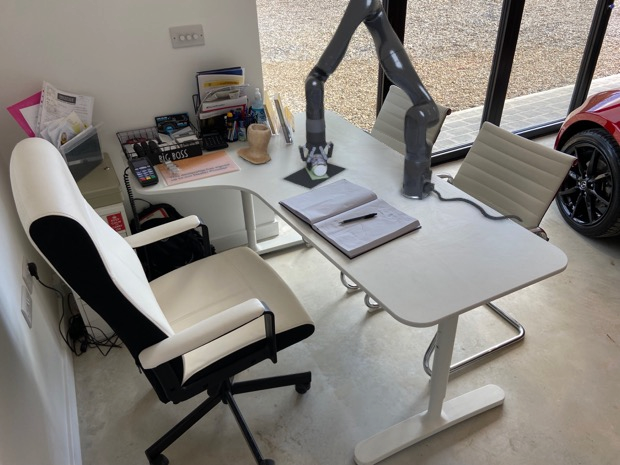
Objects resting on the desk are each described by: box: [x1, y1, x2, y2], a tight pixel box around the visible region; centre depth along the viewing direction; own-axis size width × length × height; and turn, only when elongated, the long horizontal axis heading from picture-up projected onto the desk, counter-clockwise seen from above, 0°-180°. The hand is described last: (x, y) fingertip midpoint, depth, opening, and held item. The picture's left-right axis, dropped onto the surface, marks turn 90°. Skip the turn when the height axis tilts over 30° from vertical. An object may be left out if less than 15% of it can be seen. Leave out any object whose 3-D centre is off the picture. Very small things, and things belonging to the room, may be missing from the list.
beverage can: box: [310, 154, 327, 176], centre depth 197 cm, size 6×7×12 cm
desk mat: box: [283, 162, 346, 190], centre depth 198 cm, size 14×22×1 cm, turn 140°
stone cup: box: [236, 123, 272, 165], centre depth 209 cm, size 15×12×15 cm
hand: (316, 168), depth 197 cm, fingers closed on beverage can, 5 cm apart
